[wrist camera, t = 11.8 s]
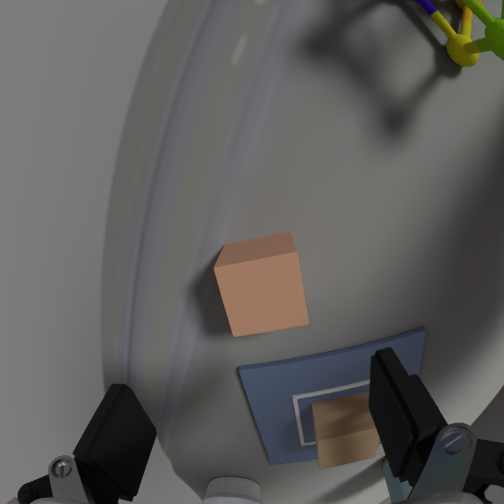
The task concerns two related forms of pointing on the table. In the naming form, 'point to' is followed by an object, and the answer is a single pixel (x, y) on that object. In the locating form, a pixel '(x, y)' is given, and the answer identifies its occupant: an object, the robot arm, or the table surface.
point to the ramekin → (232, 491)
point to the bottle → (395, 484)
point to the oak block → (344, 430)
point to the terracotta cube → (261, 285)
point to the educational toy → (460, 45)
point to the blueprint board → (315, 390)
